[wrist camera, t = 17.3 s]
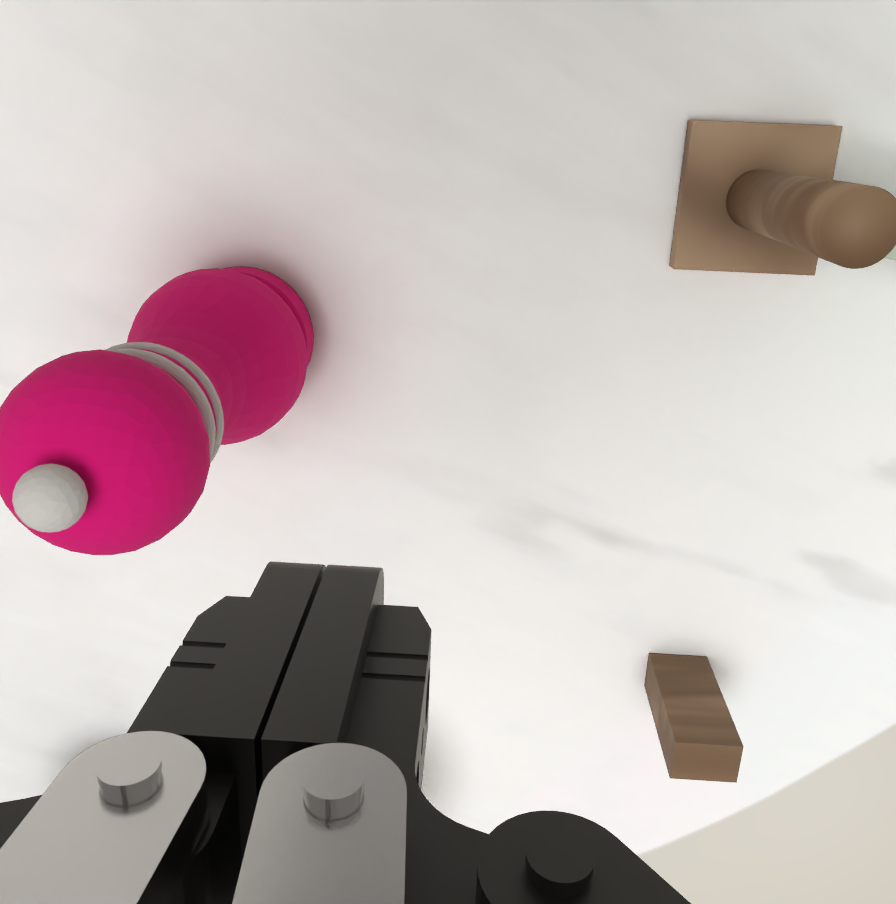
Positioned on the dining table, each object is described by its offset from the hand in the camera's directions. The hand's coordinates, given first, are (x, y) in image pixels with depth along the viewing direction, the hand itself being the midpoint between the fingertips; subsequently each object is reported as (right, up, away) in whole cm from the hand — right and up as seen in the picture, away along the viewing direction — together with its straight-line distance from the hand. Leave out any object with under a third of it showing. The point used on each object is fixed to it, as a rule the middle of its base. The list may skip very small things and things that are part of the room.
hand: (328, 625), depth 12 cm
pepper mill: (-8, +8, +29) cm, 31 cm away
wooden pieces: (+14, +3, +29) cm, 33 cm away
